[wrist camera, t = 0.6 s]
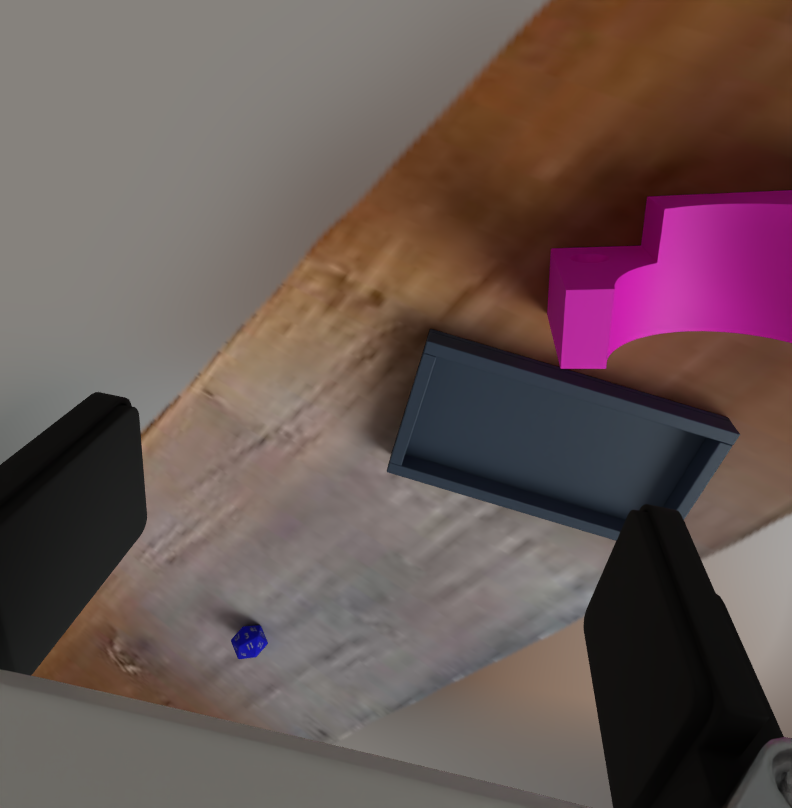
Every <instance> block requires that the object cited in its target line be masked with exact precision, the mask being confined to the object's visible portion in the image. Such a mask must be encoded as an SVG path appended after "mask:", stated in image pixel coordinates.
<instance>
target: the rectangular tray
mask: <svg viewBox="0 0 792 808" xmlns="http://www.w3.org/2000/svg"><path fill="white" fill-rule="evenodd" d="M739 436H740V434H739V432H738V431H737V429H736V428H735V427H734V425H733V424H732V422H731V421H730V420H729V418H728V417H724V416H721V415H718V414H714V413H711V412H708V411H704V410H701V409H698V408H694V407H691V406H687V405H684V404H681V403H677V402H674V401H671V400H667V399H664V398H661V397H657V396H654V395H651V394H647V393H644V392H641V391H637V390H634V389H631V388H627V387H624V386H621V385H617V384H614V383H611V382H607V381H604V380H601V379H597V378H594V377H591V376H587V375H584V374H580V373H577V372H574V371H570V370H567V369H560V367H557V366H554V365H550V364H547V363H544V362H540V361H537V360H534V359H530V358H527V357H524V356H520V355H517V354H514V353H510V352H507V351H504V350H500V349H497V348H494V347H490V346H487V345H484V344H480V343H477V342H474V341H470V340H467V339H463V338H460V337H457V336H453V335H450V334H447V333H443V332H440V331H437V330H433V329H430V331H429V334H428V337H427V340H426V344H425V347H424V350H423V353H422V357H421V360H420V363H419V366H418V370H417V373H416V376H415V379H414V382H413V386H412V389H411V392H410V395H409V399H408V402H407V405H406V408H405V412H404V415H403V418H402V421H401V424H400V428H399V431H398V434H397V437H396V441H395V444H394V447H393V450H392V454H391V457H390V461H389V464H388V468H387V472H389V473H392V474H395V475H399V476H402V477H405V478H409V479H412V480H415V481H419V482H422V483H425V484H429V485H432V486H435V487H439V488H442V489H445V490H449V491H452V492H456V493H459V494H462V495H466V496H469V497H472V498H476V499H479V500H482V501H486V502H489V503H492V504H496V505H499V506H502V507H506V508H509V509H512V510H516V511H519V512H522V513H526V514H529V515H532V516H536V517H539V518H542V519H546V520H549V521H552V522H556V523H559V524H562V525H566V526H569V527H572V528H576V529H579V530H582V531H586V532H589V533H592V534H596V535H599V536H602V537H606V538H609V539H612V540H616V541H617V538H618V536H619V534H620V532H621V529H622V527H623V525H624V522H625V520H626V518H627V516H628V514H629V512H630V511H631V510H633V509H634V510H640V508H641V507H642V506H643V505H645V504H649V505H654V506H659V507H664V508H669V509H674V510H677V511H679V512H680V514H681V515H682V518H683V520H684V519H685V517H686V516H687V514H688V513H689V511H690V510H691V508H692V507H693V505H694V503H695V502H696V500H697V499H698V497H699V496H700V494H701V493H702V491H703V490H704V488H705V487H706V485H707V484H708V482H709V481H710V479H711V478H712V476H713V475H714V473H715V472H716V470H717V469H718V467H719V466H720V464H721V463H722V461H723V459H724V458H725V456H726V455H727V453H728V452H729V450H730V449H731V447H732V445H734V443H735V442H736V440H737V439H738V437H739Z"/></svg>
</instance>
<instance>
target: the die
mask: <svg viewBox="0 0 792 808" xmlns="http://www.w3.org/2000/svg"><path fill="white" fill-rule="evenodd" d="M231 642H232V645H233V647H234V650H235V652H236V655H237V657H238V659H244V658H253V657H257V656H258V654H259V653H260V652H261V651H262V650H263V649H264V648H265V646H266V645H267V644H268V642H267V640H266V637H265V635H264V632H263V630H262V628H261V626H260V625H254V626H243V627H242V628H241V629H240V630H239V631H238V633H237V634H236V635H235V636H234V637H233V638H232V639H231Z"/></svg>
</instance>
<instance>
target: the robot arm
mask: <svg viewBox="0 0 792 808" xmlns="http://www.w3.org/2000/svg"><path fill="white" fill-rule="evenodd" d="M146 521H147V509H146V497H145V484H144V472H143V459H142V446H141V434H140V422H139V413H138V410H137V409H136V408H135V407H132V406H131V403H130V401H129V399H127V398H124V397H119V396H115V395H110V394H105V393H100V392H95V393H94V394H91V395H90V396H89V397H87V398H86V399H85V400H84V401H82V402H81V403H80V404H78V405H77V406H76V407H74V408H73V409H72V410H71V411H69V412H68V413H67V414H66V415H64V416H63V417H62V418H60V419H59V420H58V421H57V422H55V423H54V424H53V425H51V426H50V427H49V428H47V429H46V430H45V431H43V432H42V433H41V434H40V435H38V436H37V437H36V438H34V439H33V440H32V441H31V442H29V443H28V444H27V445H25V446H24V447H23V448H22V449H20V450H19V451H18V452H16V453H15V454H14V455H13V456H11V457H10V458H9V459H7V460H6V461H5V462H3V463H2V464H1V465H0V808H591V807H587V806H583V805H579V804H575V803H571V802H567V801H564V800H560V799H556V798H552V797H548V796H544V795H540V794H536V793H532V792H528V791H524V790H520V789H516V788H512V787H507V786H503V785H499V784H495V783H491V782H487V781H482V780H477V779H474V778H469V777H466V776H461V775H457V774H453V773H449V772H445V771H440V770H436V769H432V768H428V767H424V766H420V765H415V764H411V763H407V762H402V761H398V760H394V759H390V758H386V757H382V756H378V755H373V754H369V753H365V752H361V751H356V750H352V749H348V748H344V747H339V746H335V745H331V744H326V743H322V742H318V741H314V740H309V739H305V738H301V737H297V736H292V735H288V734H284V733H279V732H275V731H271V730H266V729H262V728H258V727H254V726H249V725H245V724H241V723H236V722H232V721H228V720H223V719H219V718H215V717H210V716H206V715H202V714H198V713H193V712H189V711H185V710H180V709H176V708H171V707H167V706H163V705H158V704H154V703H149V702H145V701H140V700H136V699H132V698H127V697H123V696H118V695H114V694H110V693H105V692H101V691H96V690H92V689H88V688H83V687H79V686H74V685H70V684H66V683H61V682H57V681H52V680H48V679H44V678H39V677H34V676H31V675H32V674H33V672H34V671H35V670H36V669H37V667H38V666H39V665H40V664H41V662H42V661H43V660H44V658H45V657H46V656H47V655H48V653H49V652H50V651H51V649H52V648H53V647H54V646H55V644H56V643H57V642H58V640H59V639H60V638H61V637H62V635H63V634H64V633H65V632H66V630H67V629H68V628H69V626H70V625H71V624H72V623H73V621H74V620H75V619H76V617H77V616H78V615H79V614H80V612H81V611H82V610H83V608H84V607H85V606H86V605H87V603H88V602H89V601H90V599H91V598H92V597H93V596H94V594H95V593H96V592H97V590H98V589H99V588H100V587H101V585H102V584H103V583H104V582H105V580H106V579H107V578H108V576H109V575H110V574H111V573H112V571H113V570H114V569H115V567H116V566H117V565H118V564H119V562H120V561H121V560H122V558H123V557H124V556H125V555H126V553H127V552H128V551H129V549H130V548H131V547H132V546H133V544H134V543H135V542H136V541H137V539H138V538H139V537H140V535H141V534H142V532H143V530H144V528H145V525H146ZM584 634H585V640H586V646H587V652H588V658H589V664H590V670H591V677H592V683H593V689H594V694H595V701H596V707H597V712H598V719H599V725H600V731H601V737H602V743H603V749H604V755H605V761H606V766H607V773H608V779H609V785H610V791H611V797H612V803H613V808H792V738H786V737H784V736H783V734H782V732H781V730H780V728H779V725H778V723H777V721H776V718H775V716H774V714H773V712H772V709H771V707H770V705H769V703H768V700H767V698H766V696H765V694H764V691H763V689H762V687H761V685H760V682H759V680H758V678H757V676H756V673H755V671H754V669H753V667H752V665H751V662H750V660H749V658H748V656H747V653H746V651H745V649H744V646H743V644H742V642H741V640H740V638H739V635H738V633H737V631H736V628H735V626H734V624H733V622H732V620H731V617H730V615H729V613H728V611H727V608H726V606H725V604H724V602H723V601H722V599H721V597H720V596H719V595H717V594H716V593H715V591H714V589H713V586H712V584H711V582H710V579H709V577H708V575H707V573H706V571H705V568H704V566H703V563H702V561H701V559H700V557H699V554H698V552H697V550H696V547H695V545H694V543H693V540H692V538H691V536H690V534H689V531H688V529H687V527H686V524H685V522H684V520H683V518H682V515H681V514H680V512H679V511H677V510H674V509H669V508H664V507H659V506H654V505H649V504H645V505H643V506H642V507H641V508H640V510H634V509H633V510H631V511H630V512H629V514H628V516H627V518H626V520H625V522H624V525H623V527H622V529H621V532H620V534H619V536H618V538H617V541H616V543H615V545H614V548H613V550H612V552H611V555H610V557H609V559H608V561H607V564H606V566H605V568H604V571H603V573H602V575H601V577H600V580H599V582H598V584H597V587H596V589H595V591H594V594H593V596H592V598H591V600H590V603H589V605H588V607H587V610H586V613H585V617H584Z"/></svg>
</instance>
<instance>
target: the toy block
mask: <svg viewBox="0 0 792 808" xmlns="http://www.w3.org/2000/svg"><path fill="white" fill-rule="evenodd" d="M547 315H548V319H549V323H550V327H551V332H552V336H553V340H554V344H555V348H556V352H557V356H558V360H559V364H560V369H606V364H607V359H608V357H609V356H610V354H611V353H612V352H613V351H614V350H615V349H617V348H618V347H620V346H621V345H623V344H625V343H627V342H630V341H632V340H635V339H638V338H642V337H646V336H650V335H655V334H661V333H669V332H682V331H717V332H731V333H741V334H749V335H755V336H762V337H767V338H772V339H777V340H781V341H786V342H790V343H792V190H785V191H762V192H739V193H716V194H694V195H671V196H648V197H647V202H646V210H645V218H644V226H643V234H642V242H641V246H613V247H582V248H551V256H550V274H549V292H548V310H547Z"/></svg>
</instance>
